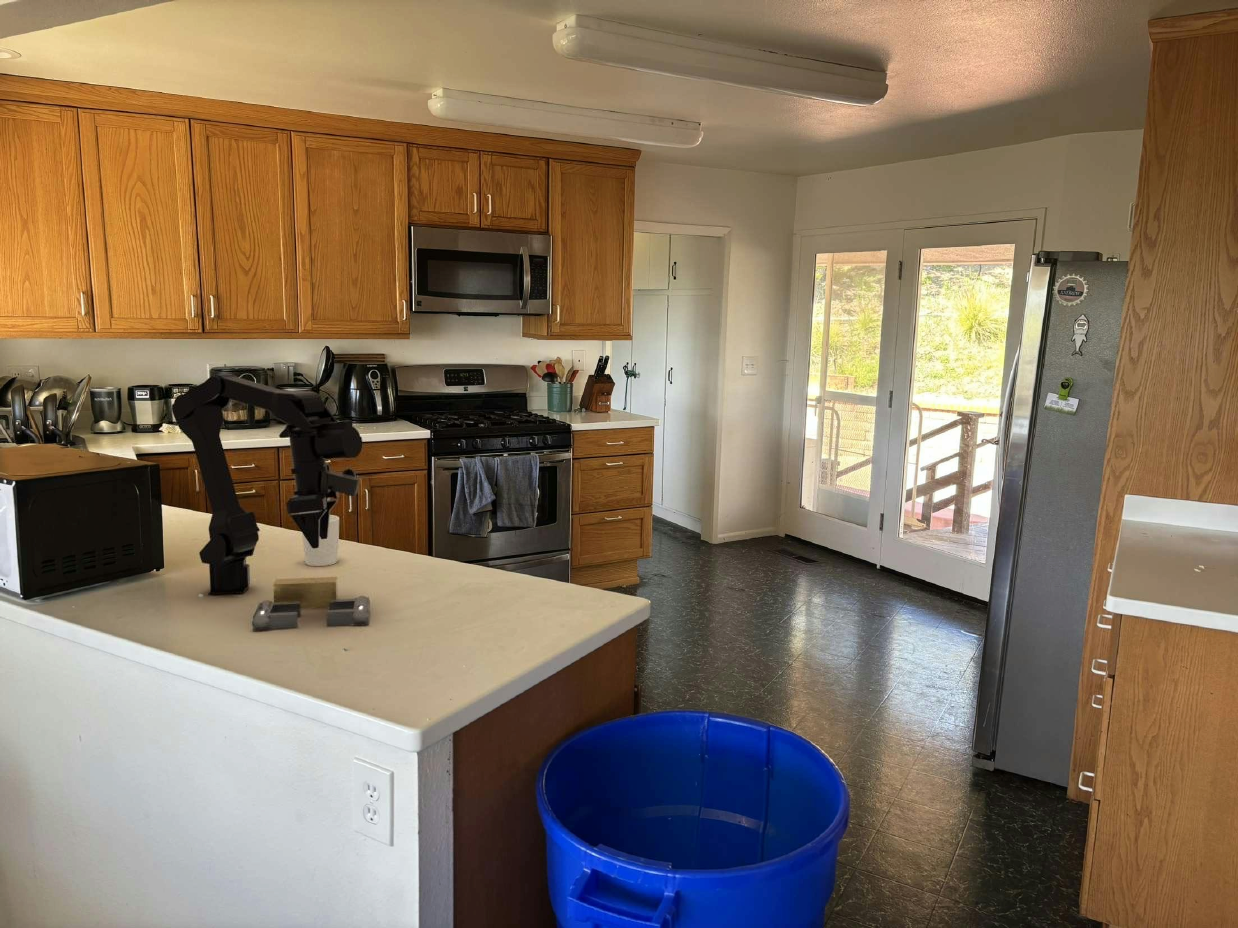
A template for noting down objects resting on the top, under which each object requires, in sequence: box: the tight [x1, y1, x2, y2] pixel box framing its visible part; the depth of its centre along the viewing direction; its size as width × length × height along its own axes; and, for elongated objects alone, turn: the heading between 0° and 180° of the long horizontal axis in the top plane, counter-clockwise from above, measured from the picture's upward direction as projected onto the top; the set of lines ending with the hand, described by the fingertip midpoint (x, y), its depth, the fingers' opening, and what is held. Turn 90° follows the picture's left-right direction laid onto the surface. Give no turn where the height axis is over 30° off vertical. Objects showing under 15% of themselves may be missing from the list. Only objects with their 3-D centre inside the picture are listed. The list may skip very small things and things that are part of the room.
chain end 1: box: [251, 599, 302, 632], centre depth 154 cm, size 7×8×3 cm
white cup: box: [301, 514, 340, 567], centre depth 191 cm, size 8×8×10 cm
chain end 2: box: [326, 595, 371, 627], centre depth 157 cm, size 7×8×3 cm
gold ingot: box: [272, 576, 339, 609], centre depth 163 cm, size 11×3×5 cm, turn 103°
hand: (320, 543), depth 161 cm, fingers open, 9 cm apart
